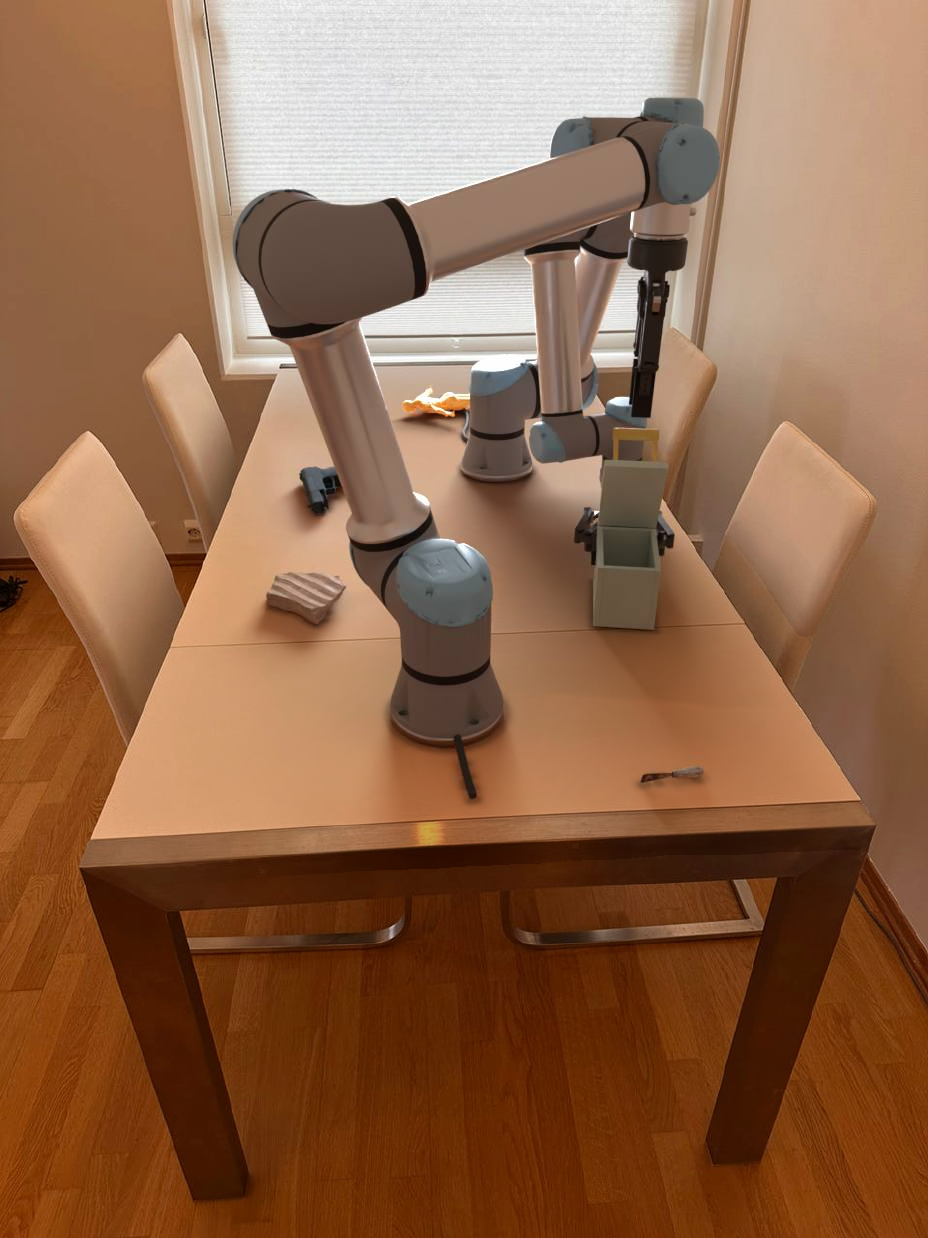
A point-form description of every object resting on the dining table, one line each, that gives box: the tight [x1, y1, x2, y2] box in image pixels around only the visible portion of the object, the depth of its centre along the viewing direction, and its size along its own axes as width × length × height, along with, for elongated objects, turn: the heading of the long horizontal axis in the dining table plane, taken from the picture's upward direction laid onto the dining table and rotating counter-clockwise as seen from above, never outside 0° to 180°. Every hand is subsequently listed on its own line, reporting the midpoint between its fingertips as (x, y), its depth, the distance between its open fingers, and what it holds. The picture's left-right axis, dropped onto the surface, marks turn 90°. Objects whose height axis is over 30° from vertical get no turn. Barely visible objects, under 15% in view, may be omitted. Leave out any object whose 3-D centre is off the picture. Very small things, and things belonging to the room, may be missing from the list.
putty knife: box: [640, 765, 705, 784], centre depth 109 cm, size 1×8×2 cm, turn 103°
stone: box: [265, 571, 347, 625], centre depth 145 cm, size 13×12×2 cm
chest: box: [592, 526, 662, 631], centre depth 142 cm, size 14×9×10 cm, turn 173°
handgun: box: [298, 465, 342, 515], centre depth 181 cm, size 3×18×12 cm
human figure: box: [402, 385, 470, 418], centre depth 225 cm, size 20×20×4 cm
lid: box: [597, 428, 670, 528], centre depth 140 cm, size 15×9×9 cm
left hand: (639, 409), depth 128 cm, fingers open, 5 cm apart
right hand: (625, 559), depth 144 cm, fingers closed on chest, 9 cm apart
